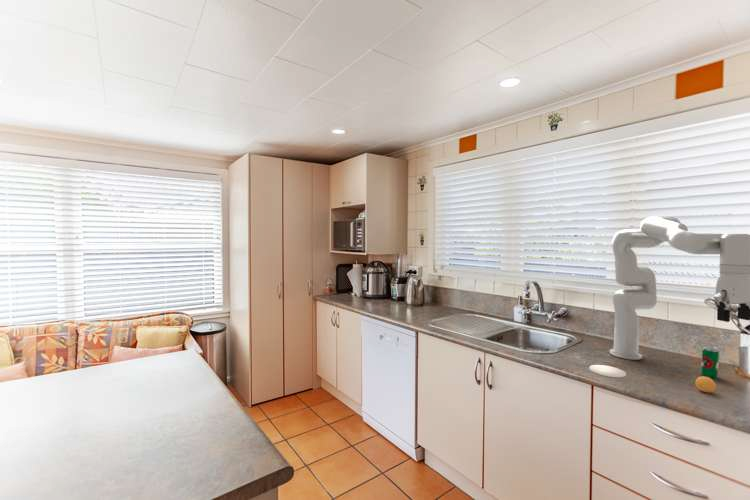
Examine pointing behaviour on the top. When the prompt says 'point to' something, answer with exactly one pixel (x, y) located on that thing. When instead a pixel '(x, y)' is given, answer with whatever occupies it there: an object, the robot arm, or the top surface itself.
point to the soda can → (710, 361)
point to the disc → (607, 371)
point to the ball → (705, 384)
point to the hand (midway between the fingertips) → (733, 320)
